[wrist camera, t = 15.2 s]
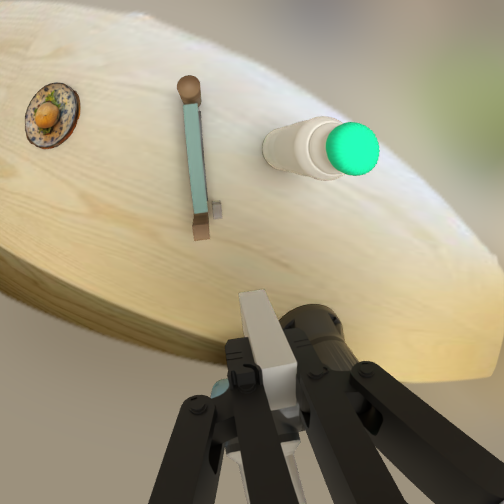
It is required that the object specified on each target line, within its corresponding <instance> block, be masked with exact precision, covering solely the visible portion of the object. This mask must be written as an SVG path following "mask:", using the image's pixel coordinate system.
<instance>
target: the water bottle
mask: <svg viewBox="0 0 504 504" xmlns="http://www.w3.org/2000/svg"><path fill="white" fill-rule="evenodd" d="M378 144H379V143H378V141H377V138H376V137H375V134H374V133H373V131H372V130H370V129H369V128H368V127H366V126H365V125H362V124H360V123H355V122H347V123H344V124H343V123H342V122H340V121H339V120H337V119H334V118H331V117H325V116H322V117H315V118H312V119H310V120H306V121H302V122H298V123H295V124H292V125H289V126H285V127H282V128H278V129H275V130H273V131H272V132H270V133H269V134H268V135H267V136H266V138H265V140H264V142H263V155H264V157H265V159H266V161H267V162H268V163H269V164H270V165H271V166H272V167H274V168H276V169H278V170H283V171H287V172H293V173H296V174H299V175H303V176H308V177H312V178H315V179H318V180H323V181H329V180H335V179H337V178H340V177H342V176H343V175H345V174H347V175H353V176H357V175H363V174H366V173H368V172H369V171H371V170H372V169H373V168H374V167H375V164H377V160H378V157H379V152H380V150H379V145H378Z"/></svg>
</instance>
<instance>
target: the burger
mask: <svg viewBox="0 0 504 504" xmlns="http://www.w3.org/2000/svg"><path fill="white" fill-rule="evenodd" d="M73 89H74V88H73ZM73 89H71V87H69V86H67V85H66V84H63V83H51V84H48V85H46V86H44V87H43V88H42V89H40V90H39V91H38V92H37V93H36V94H35V96H34V97H33V98H32V100H31V102H30V104H29V106H28V108H27V111H26V115H25V131H26V136H27V139H28V140H29V142H30V143H31V144H34V145H35V146H36V147H40V148H42V149H49V148H54V147H57V146H58V145H60V144H61V143H62V142H63V141H65V140H66V139H68V137H69V136H70V135H71V134H72V132H73V129H74V128H75V127H76V123H77V120H78V119H79V116H80V99H79V96H78V94H77V92H76V91H74V90H73ZM72 90H73V91H72ZM75 94H76V95H75ZM76 118H77V119H76Z"/></svg>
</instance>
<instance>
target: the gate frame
mask: <svg viewBox="0 0 504 504" xmlns="http://www.w3.org/2000/svg"><path fill="white" fill-rule="evenodd" d="M177 90H178V92H179V94H180V96H181V99H182V101H183V103H184V105H187V104H195V103H197V104H198V107H199V106H200V104H201V91H200V82H199V80H198V79H197V78H196V77H194V76H191V75H188V76H184V77H182V78H181V79H180V80H179V81H178V84H177ZM198 116H199V128H200V140H201V150H202V161H203V171H204V180H205V190H206V199H207V201H208V196H207V186H206V175H205V163H204V151H203V138H202V125H201V111H198ZM212 208H213V217H214V219H222V208H221V202H220V201H212ZM192 227H193V235H194V241H198V240H207V239H210V235H209V218H208V212H205V213H197V214H194V219H193V225H192Z"/></svg>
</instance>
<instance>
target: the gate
mask: <svg viewBox="0 0 504 504" xmlns="http://www.w3.org/2000/svg"><path fill="white" fill-rule="evenodd" d="M183 110H184V123H185V134H186V145H187V155H188V165H189V174H190V183H191V192H192V200H193V208H194V214H197V213H205V212H208V207H207V199H206V190H205V180H204V171H203V161H202V150H201V140H200V128H199V116H198V104H197V103H195V104H187V105H183Z"/></svg>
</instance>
